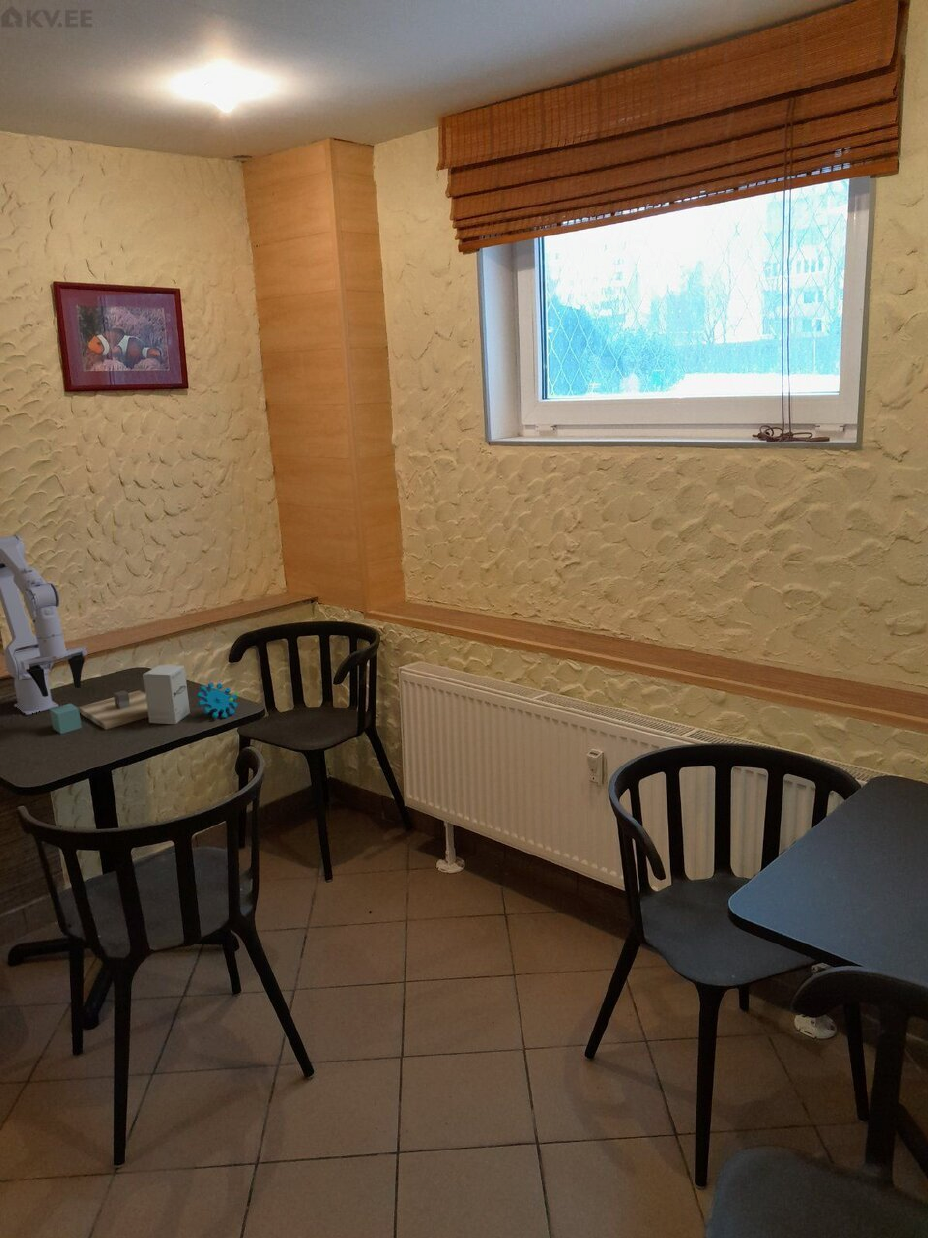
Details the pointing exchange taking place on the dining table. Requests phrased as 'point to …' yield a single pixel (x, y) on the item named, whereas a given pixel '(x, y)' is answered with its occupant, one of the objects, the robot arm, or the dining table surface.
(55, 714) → the mint green cube
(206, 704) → the gear
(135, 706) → the post board
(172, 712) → the supplement box
